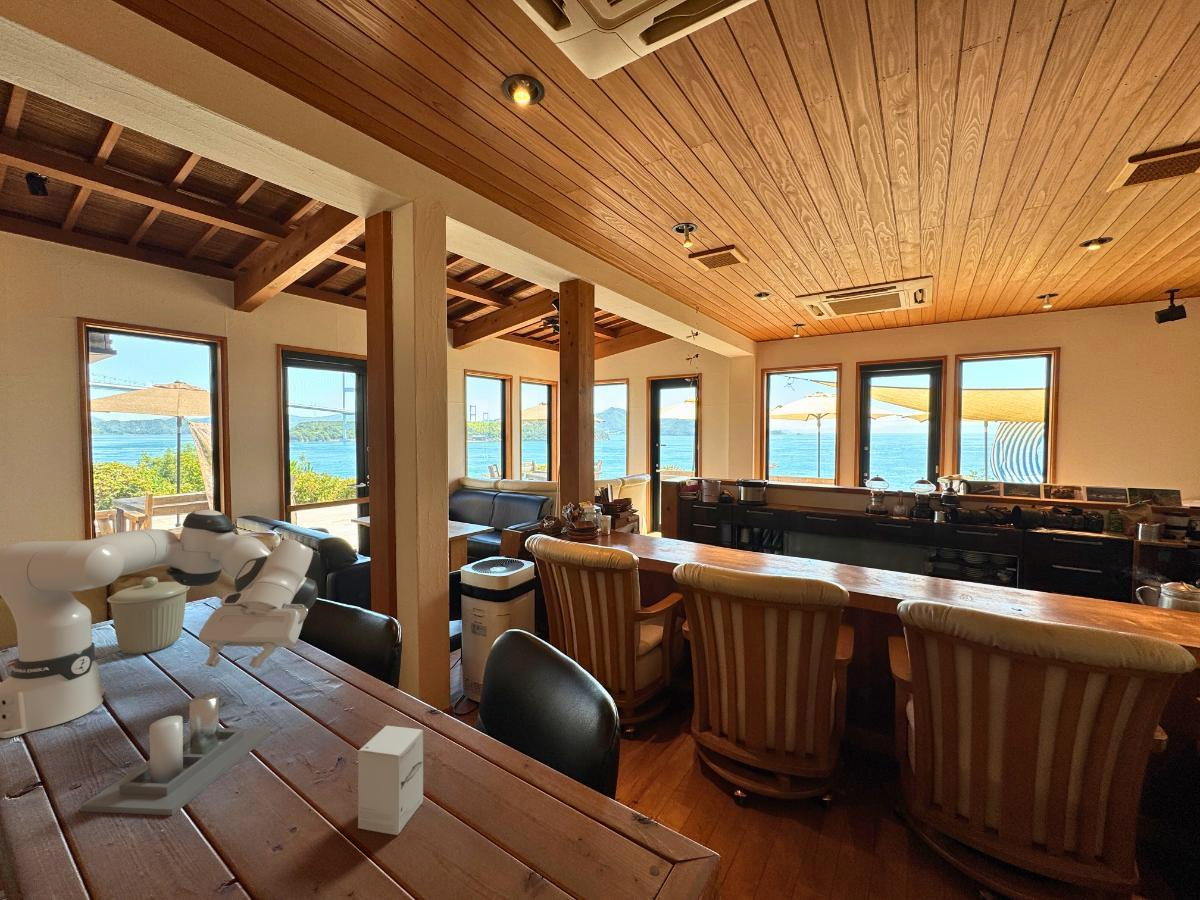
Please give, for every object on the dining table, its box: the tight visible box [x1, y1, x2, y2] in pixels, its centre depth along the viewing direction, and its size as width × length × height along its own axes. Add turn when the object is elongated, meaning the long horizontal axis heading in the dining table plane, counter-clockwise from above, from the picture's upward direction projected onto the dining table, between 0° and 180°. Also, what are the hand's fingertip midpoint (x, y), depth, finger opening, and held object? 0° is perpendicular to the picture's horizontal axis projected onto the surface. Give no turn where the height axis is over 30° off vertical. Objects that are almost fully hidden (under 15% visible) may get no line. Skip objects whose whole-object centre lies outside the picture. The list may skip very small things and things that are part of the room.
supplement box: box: [357, 725, 424, 836], centre depth 79 cm, size 7×7×13 cm
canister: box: [106, 576, 191, 655], centre depth 145 cm, size 18×18×21 cm
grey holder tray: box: [80, 715, 272, 816], centre depth 91 cm, size 16×22×11 cm
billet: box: [188, 692, 220, 755], centre depth 95 cm, size 4×4×10 cm
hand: (232, 666), depth 100 cm, fingers open, 8 cm apart
